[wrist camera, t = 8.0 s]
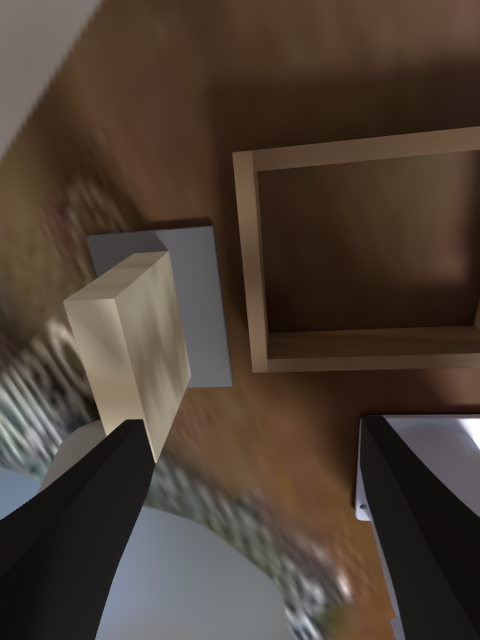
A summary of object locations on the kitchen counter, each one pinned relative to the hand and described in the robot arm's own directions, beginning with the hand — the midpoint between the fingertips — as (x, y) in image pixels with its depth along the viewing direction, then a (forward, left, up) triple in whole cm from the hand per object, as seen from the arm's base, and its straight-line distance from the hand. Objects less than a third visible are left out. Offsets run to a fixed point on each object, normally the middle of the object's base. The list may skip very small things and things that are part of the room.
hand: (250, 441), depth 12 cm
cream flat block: (0, +6, -10) cm, 11 cm away
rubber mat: (0, +6, -10) cm, 11 cm away
